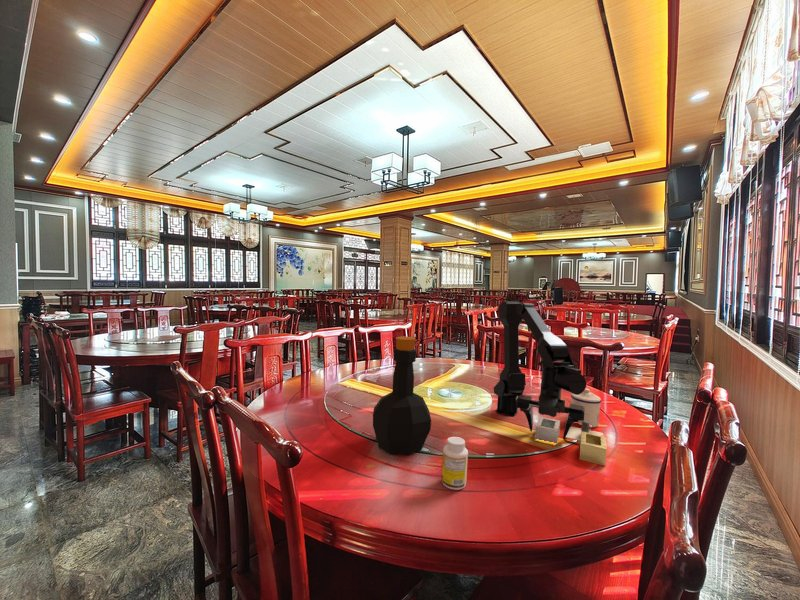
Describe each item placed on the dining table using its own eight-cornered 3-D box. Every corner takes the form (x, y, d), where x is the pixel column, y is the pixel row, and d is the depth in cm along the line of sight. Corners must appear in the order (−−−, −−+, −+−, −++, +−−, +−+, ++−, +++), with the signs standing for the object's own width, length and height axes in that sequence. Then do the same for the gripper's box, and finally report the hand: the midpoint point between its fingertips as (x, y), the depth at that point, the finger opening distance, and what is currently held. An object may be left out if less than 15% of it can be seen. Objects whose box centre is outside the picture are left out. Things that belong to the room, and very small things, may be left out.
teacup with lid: (604, 428, 119) (607, 394, 118) (576, 427, 119) (579, 392, 118) (586, 415, 131) (589, 383, 130) (561, 413, 131) (563, 381, 130)
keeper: (565, 440, 108) (566, 423, 108) (567, 429, 117) (568, 413, 117) (603, 449, 104) (605, 431, 103) (602, 436, 113) (604, 420, 112)
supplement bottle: (449, 474, 86) (452, 432, 86) (470, 484, 83) (473, 440, 82) (436, 484, 82) (439, 440, 82) (457, 494, 79) (460, 448, 78)
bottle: (363, 436, 105) (368, 333, 103) (416, 430, 110) (421, 332, 109) (380, 463, 90) (386, 343, 88) (439, 455, 96) (446, 342, 94)
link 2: (605, 465, 94) (606, 449, 94) (579, 459, 97) (580, 443, 97) (603, 451, 102) (605, 436, 102) (580, 446, 105) (581, 431, 105)
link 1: (556, 446, 104) (557, 431, 104) (534, 441, 107) (535, 426, 107) (559, 435, 112) (560, 420, 112) (538, 430, 115) (539, 416, 115)
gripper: (514, 384, 106) (510, 436, 107) (586, 397, 97) (581, 453, 98) (520, 376, 116) (517, 424, 117) (586, 387, 107) (582, 438, 108)
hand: (547, 434), depth 110 cm, fingers open, 9 cm apart
